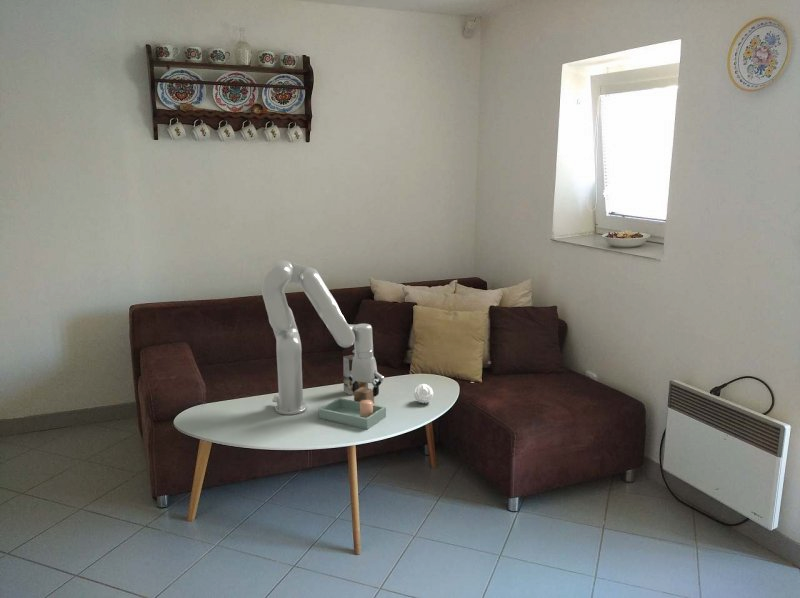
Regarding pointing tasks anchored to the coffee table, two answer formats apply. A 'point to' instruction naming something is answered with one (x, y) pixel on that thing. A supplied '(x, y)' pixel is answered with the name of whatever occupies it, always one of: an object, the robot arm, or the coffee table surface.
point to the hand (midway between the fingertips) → (365, 393)
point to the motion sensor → (423, 393)
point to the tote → (350, 413)
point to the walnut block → (363, 394)
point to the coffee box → (347, 383)
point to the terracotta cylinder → (366, 408)
